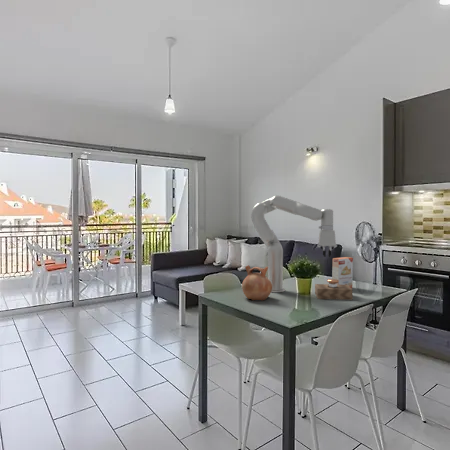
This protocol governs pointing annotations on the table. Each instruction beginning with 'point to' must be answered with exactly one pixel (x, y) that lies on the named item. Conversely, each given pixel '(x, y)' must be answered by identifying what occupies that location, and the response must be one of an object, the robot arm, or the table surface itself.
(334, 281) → the knob
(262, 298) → the jug
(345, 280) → the cracker box
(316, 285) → the brown patterned box
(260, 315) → the table surface
